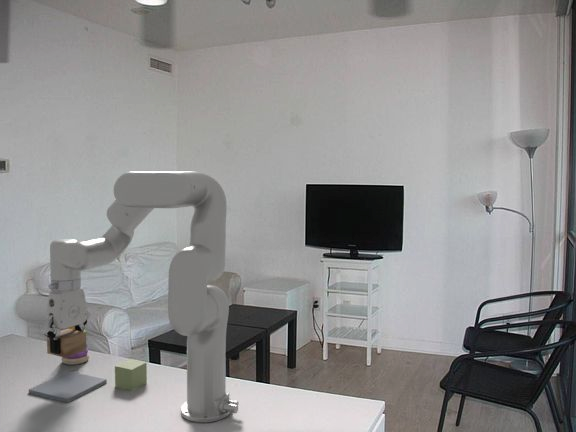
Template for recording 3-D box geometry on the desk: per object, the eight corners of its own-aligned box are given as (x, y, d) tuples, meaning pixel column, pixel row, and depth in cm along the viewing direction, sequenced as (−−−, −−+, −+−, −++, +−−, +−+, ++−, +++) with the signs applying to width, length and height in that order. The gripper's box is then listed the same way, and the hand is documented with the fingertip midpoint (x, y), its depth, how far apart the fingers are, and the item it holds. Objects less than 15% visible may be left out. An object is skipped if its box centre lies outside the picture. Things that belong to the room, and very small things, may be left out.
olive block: (146, 382, 147) (146, 362, 146) (132, 391, 141) (132, 369, 141) (129, 379, 149) (129, 359, 149) (115, 387, 144) (114, 366, 143)
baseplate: (106, 382, 146) (106, 379, 146) (67, 402, 134) (67, 399, 133) (69, 374, 152) (69, 371, 152) (28, 393, 139) (28, 389, 139)
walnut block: (86, 349, 143) (86, 332, 143) (65, 357, 137) (65, 339, 137) (68, 345, 147) (68, 328, 146) (47, 353, 140) (46, 335, 140)
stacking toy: (70, 367, 157) (69, 307, 156) (56, 361, 162) (55, 302, 161) (94, 360, 164) (92, 302, 162) (80, 354, 168) (78, 298, 167)
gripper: (49, 293, 131) (51, 361, 132) (100, 280, 147) (100, 341, 148) (28, 289, 134) (29, 356, 135) (80, 277, 150) (80, 337, 151)
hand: (66, 348), depth 142 cm, fingers closed on walnut block, 7 cm apart
